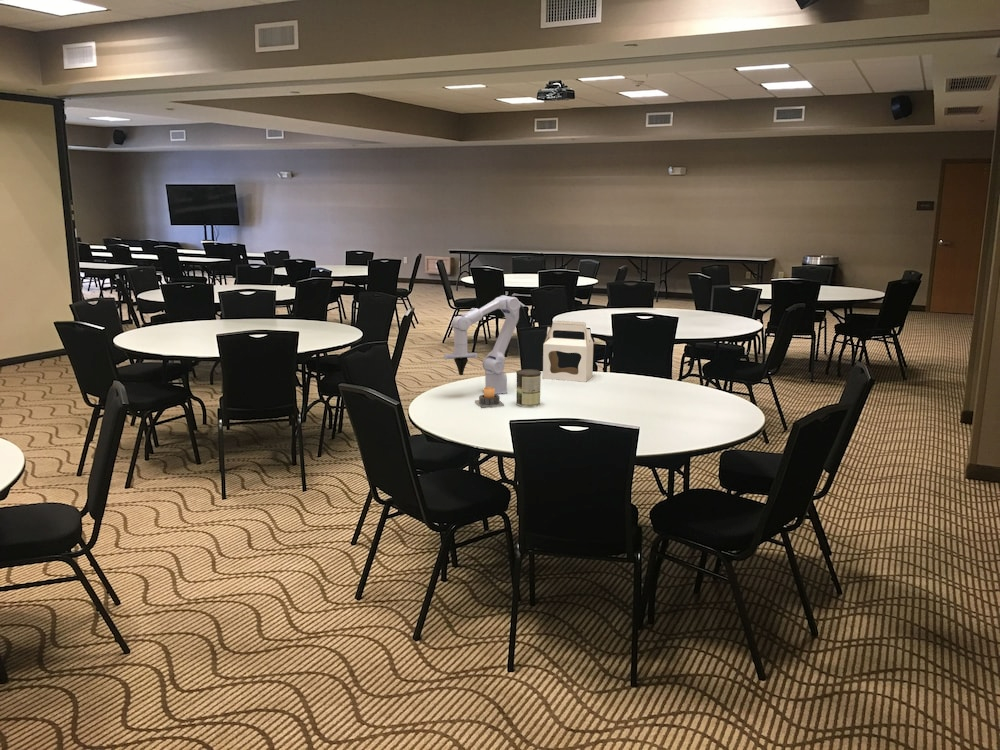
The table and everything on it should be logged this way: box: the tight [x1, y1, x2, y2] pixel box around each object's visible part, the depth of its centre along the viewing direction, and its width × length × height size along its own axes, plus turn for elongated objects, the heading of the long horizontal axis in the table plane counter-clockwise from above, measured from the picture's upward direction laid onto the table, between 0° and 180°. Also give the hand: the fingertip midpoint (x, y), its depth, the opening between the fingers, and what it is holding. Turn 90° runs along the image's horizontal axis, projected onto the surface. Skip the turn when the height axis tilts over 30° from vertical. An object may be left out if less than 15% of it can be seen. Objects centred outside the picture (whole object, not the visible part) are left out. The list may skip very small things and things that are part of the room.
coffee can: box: [515, 368, 542, 408], centre depth 323 cm, size 10×10×14 cm
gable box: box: [542, 320, 594, 383], centre depth 375 cm, size 22×13×28 cm, turn 70°
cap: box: [483, 387, 496, 398], centre depth 323 cm, size 4×4×6 cm
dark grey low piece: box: [474, 394, 505, 409], centre depth 323 cm, size 10×10×4 cm
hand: (460, 374), depth 335 cm, fingers closed
